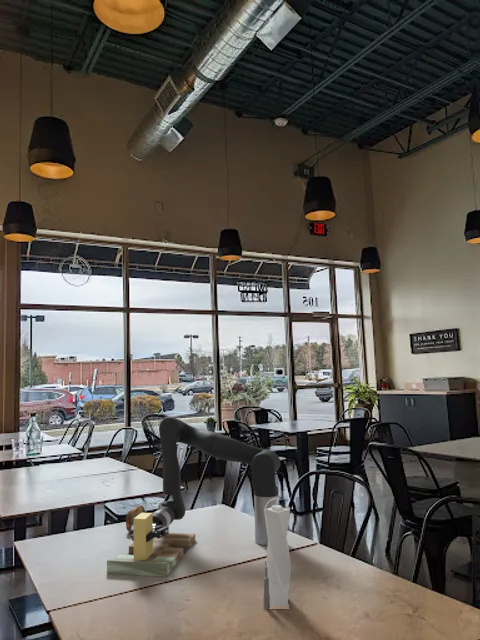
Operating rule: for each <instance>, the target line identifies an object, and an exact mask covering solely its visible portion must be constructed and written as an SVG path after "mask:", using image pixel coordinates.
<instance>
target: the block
mask: <svg viewBox="0 0 480 640" xmlns="http://www.w3.org/2000/svg"><path fill="white" fill-rule="evenodd" d="M152 513H153V512H145V513H140V514H139V515H138V516H136V517H135V518H134V541H133V542H134V560H146V559H147V558H148V557H149V556H150V555H151V554H152V553H153V539H152V540H150V541H149V542H146V535H147V534H148V533H149V532H151V530H152V528H153V515H152Z"/></svg>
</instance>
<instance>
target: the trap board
mask: <svg viewBox="0 0 480 640" xmlns="http://www.w3.org/2000/svg"><path fill="white" fill-rule="evenodd" d="M195 541H196V533H188V532H187V533H186V532H185V533H184V532H169V534H167V535H165V536H163V537H161V538H159V539H158V538H157V537H155V538H154V539H153V553H152V554H151V555H150V556H149V557H148V558H147V559H146V560H134V541H132V543H131V544H130V545H129V546H128V553H127V554H118V555H117V556H116V557H115V558H113V559H110V558H109V559H107V560H106V574H107V575H108V574H110V575H127V576H129V575H130V576H148V577H165V578H167V577H168V575H169V574H170V572H172V570H173V569H174V567H176V565H177V564H178V563H179V561H180V560H182V558H183V556H184V555H185V554H186V553H187V552H188V550H189V549H190V548H191V547H192V546H193V544H194V543H195Z"/></svg>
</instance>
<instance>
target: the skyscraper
mask: <svg viewBox="0 0 480 640" xmlns="http://www.w3.org/2000/svg"><path fill="white" fill-rule="evenodd" d="M274 499H277V502H276V505H272V507H271V508H268V509H266V506H267V504H268V503H269V502H270V501H272V500H274ZM277 503H278V498H277V497H276V498H272V499H270V500H269V501H268V502H267V504H266V506H265V508H264V513H265V521H266V529H267V535H268V545H267V546H266V547H267V548H266V560H265V561H264V564H265V567H264V576H263V610H264V609H269V608H270V606H289V607H290V603H289V604H288V601H289V595H290V583H291V557H290V549H289V544H288V539H287V537H288V529H289V523H290V515H291V507H290V506H285V507H283V506H282V505H280V504H279V505H277Z"/></svg>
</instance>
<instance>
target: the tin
mask: <svg viewBox="0 0 480 640" xmlns="http://www.w3.org/2000/svg"><path fill="white" fill-rule="evenodd" d="M140 513H146V510H145V507H144V506H143V505H136V506H134V507H133V508H132V509H131V510H129V511H128V512H127V513H126V516H125V524H126V525H125V526H126V531H127V532H129V533H131V527H132V525H134V518H135V517H136V516H138V515H139V514H140Z"/></svg>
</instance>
